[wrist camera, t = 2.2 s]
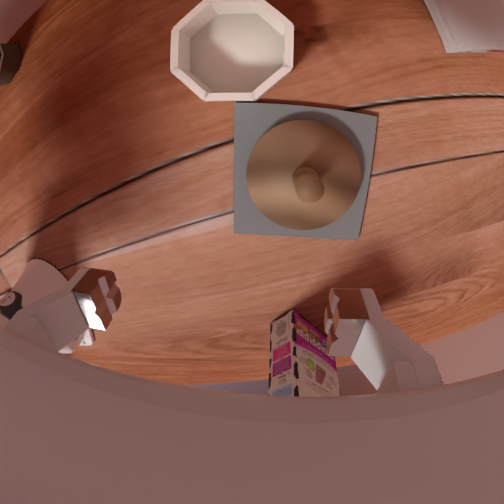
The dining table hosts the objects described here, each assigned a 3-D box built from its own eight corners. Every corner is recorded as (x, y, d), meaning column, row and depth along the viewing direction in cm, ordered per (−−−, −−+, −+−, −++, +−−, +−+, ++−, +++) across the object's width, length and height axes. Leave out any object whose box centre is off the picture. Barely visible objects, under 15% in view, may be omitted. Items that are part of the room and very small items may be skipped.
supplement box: (445, 54, 21) (526, 50, 8) (418, -6, 17) (486, -37, 4) (487, 53, 18) (562, 57, 6) (464, -2, 14) (532, -18, 2)
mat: (356, 238, 35) (357, 240, 34) (234, 231, 36) (234, 233, 35) (375, 116, 27) (377, 116, 26) (235, 102, 27) (234, 102, 27)
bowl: (288, 102, 27) (291, 102, 23) (184, 102, 28) (170, 103, 23) (290, 11, 21) (294, -4, 17) (187, 14, 22) (173, 1, 17)
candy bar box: (268, 323, 44) (264, 414, 29) (292, 307, 42) (297, 402, 27) (310, 354, 47) (317, 435, 33) (333, 341, 45) (346, 425, 31)
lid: (349, 229, 34) (361, 251, 29) (246, 223, 34) (242, 245, 29) (364, 126, 27) (382, 132, 22) (248, 116, 28) (243, 118, 23)
